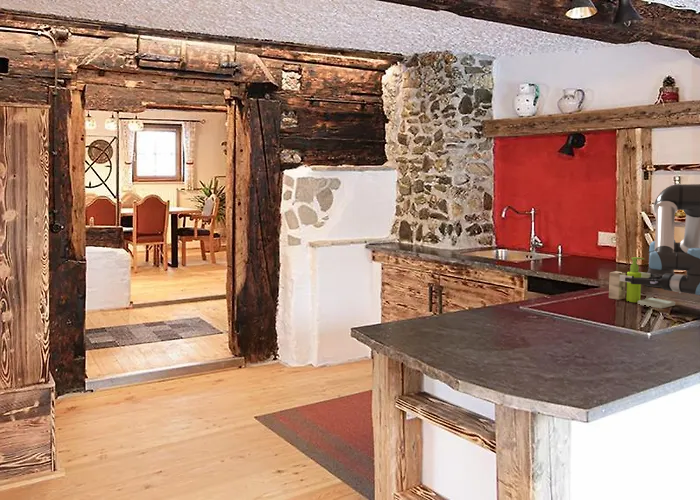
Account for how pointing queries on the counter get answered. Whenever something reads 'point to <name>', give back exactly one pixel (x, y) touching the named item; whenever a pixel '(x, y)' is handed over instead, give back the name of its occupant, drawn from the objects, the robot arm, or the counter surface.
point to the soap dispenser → (634, 289)
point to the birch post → (616, 285)
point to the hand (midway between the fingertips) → (628, 276)
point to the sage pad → (656, 303)
